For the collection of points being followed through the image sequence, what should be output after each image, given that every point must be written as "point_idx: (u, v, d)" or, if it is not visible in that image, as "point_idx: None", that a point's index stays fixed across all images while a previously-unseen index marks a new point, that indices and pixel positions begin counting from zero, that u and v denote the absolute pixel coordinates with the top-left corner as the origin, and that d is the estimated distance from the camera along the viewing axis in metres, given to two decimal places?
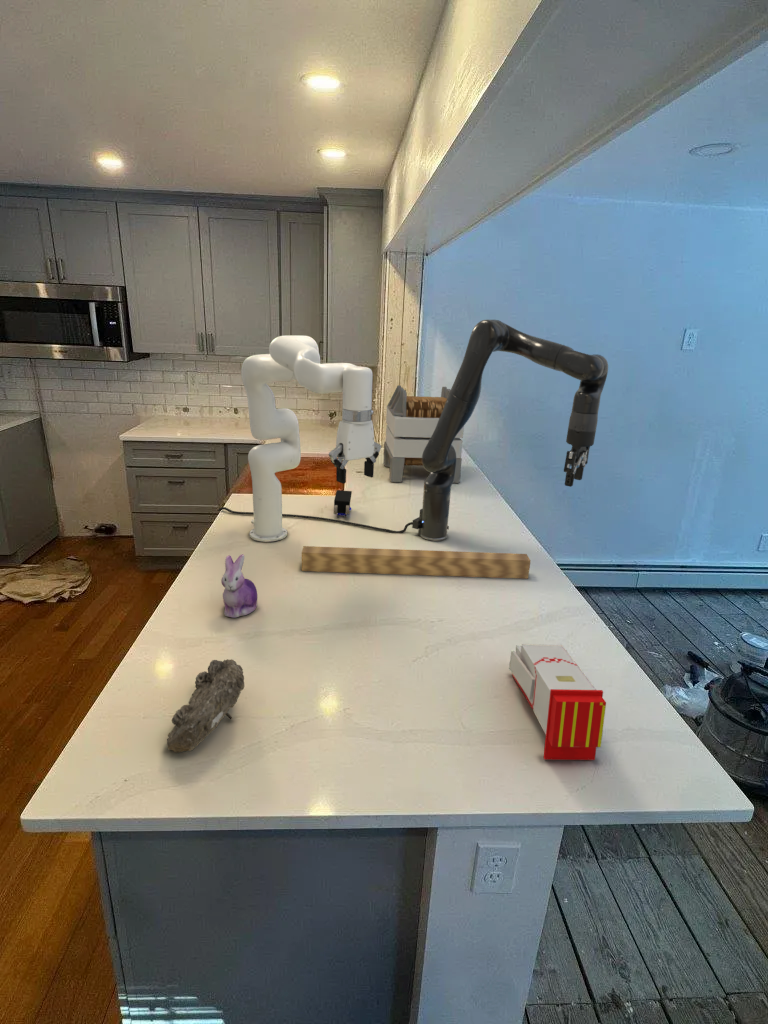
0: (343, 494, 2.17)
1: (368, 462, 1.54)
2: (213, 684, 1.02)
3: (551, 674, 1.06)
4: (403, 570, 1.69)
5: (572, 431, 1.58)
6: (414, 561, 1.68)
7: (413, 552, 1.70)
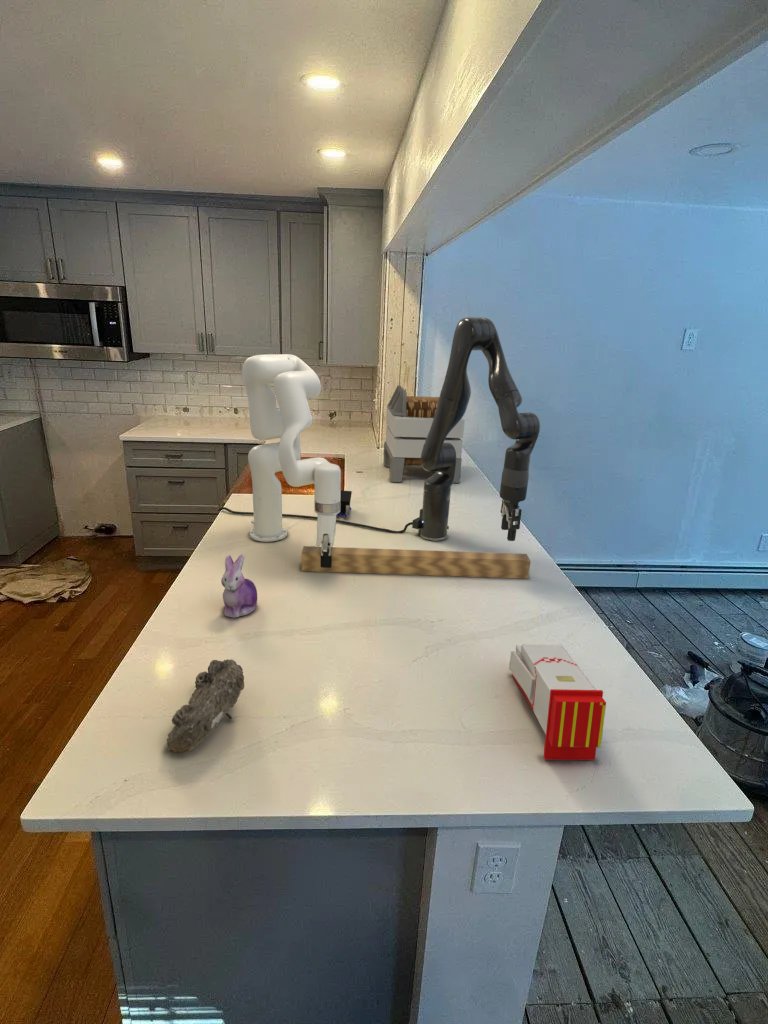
0: (343, 494, 2.17)
1: None
2: (213, 684, 1.02)
3: (551, 674, 1.06)
4: (403, 570, 1.69)
5: (511, 488, 1.60)
6: (414, 561, 1.68)
7: (413, 552, 1.70)
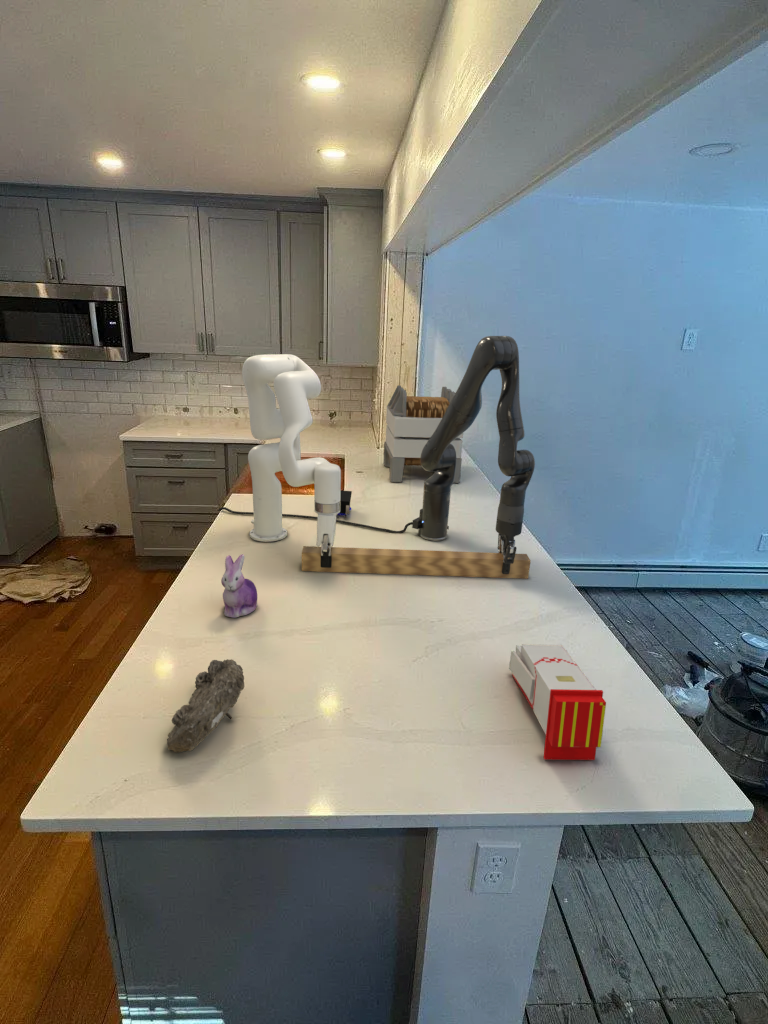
0: (343, 494, 2.17)
1: None
2: (213, 684, 1.02)
3: (551, 674, 1.06)
4: (403, 570, 1.69)
5: (506, 523, 1.63)
6: (414, 561, 1.68)
7: (413, 552, 1.70)
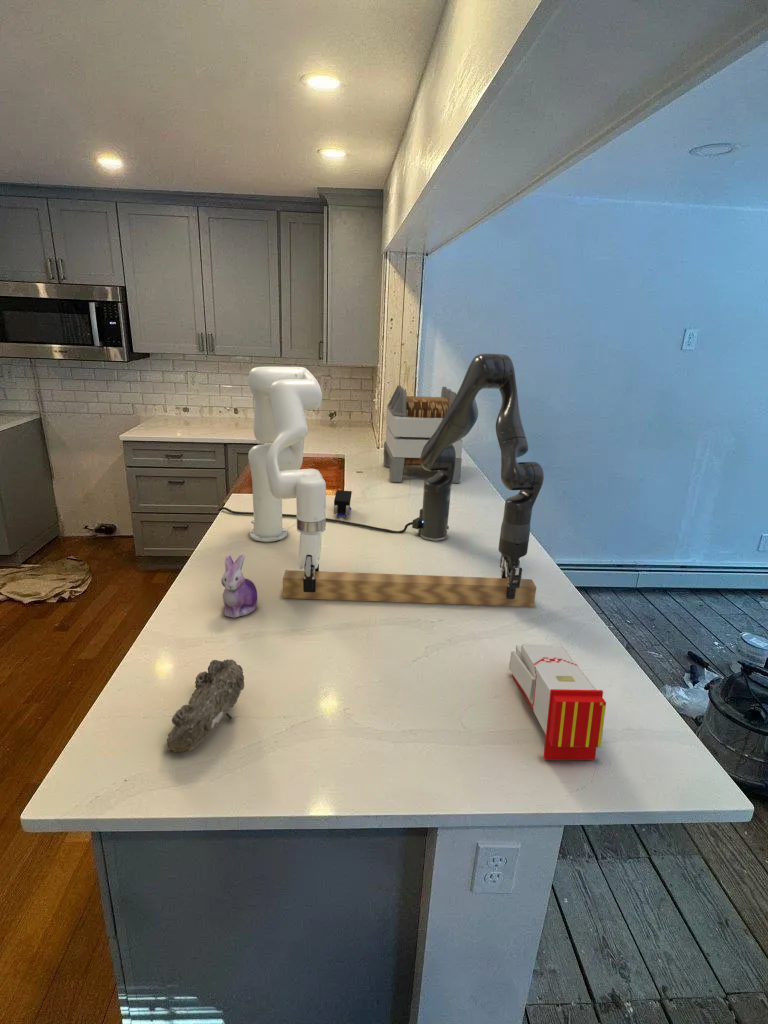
0: (343, 494, 2.17)
1: (313, 564, 1.56)
2: (213, 684, 1.02)
3: (551, 674, 1.06)
4: (395, 597, 1.53)
5: (511, 543, 1.46)
6: (407, 587, 1.52)
7: (407, 577, 1.54)
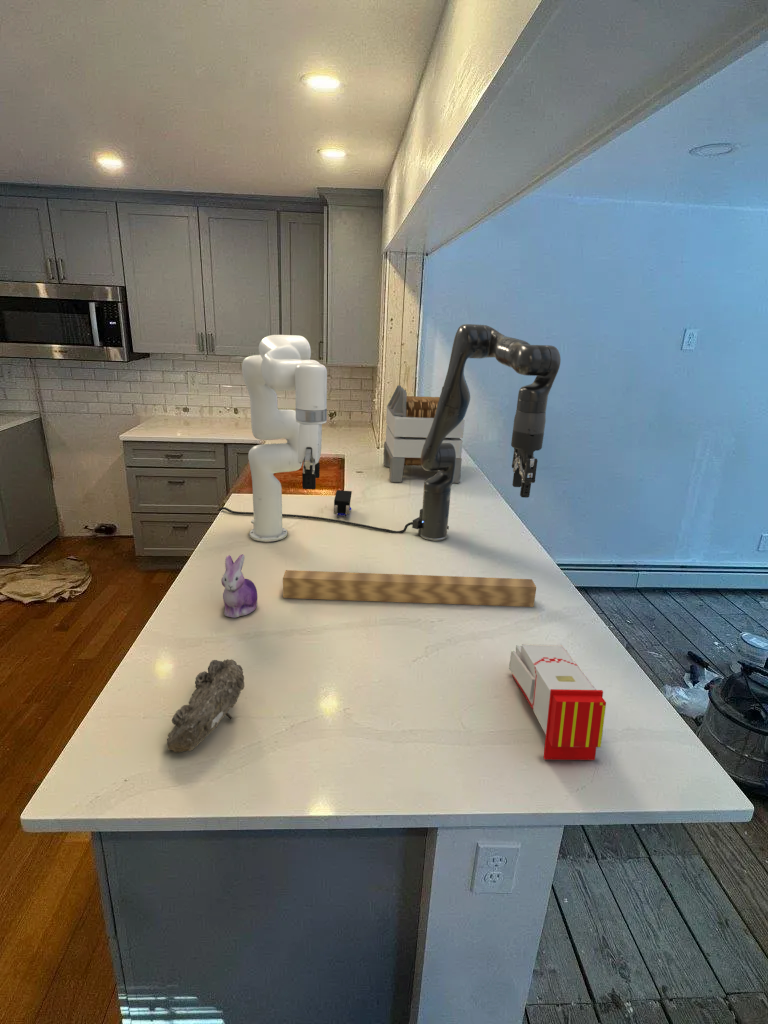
0: (343, 494, 2.17)
1: None
2: (213, 684, 1.02)
3: (551, 674, 1.06)
4: (395, 597, 1.53)
5: (525, 434, 1.37)
6: (407, 587, 1.52)
7: (407, 577, 1.54)
